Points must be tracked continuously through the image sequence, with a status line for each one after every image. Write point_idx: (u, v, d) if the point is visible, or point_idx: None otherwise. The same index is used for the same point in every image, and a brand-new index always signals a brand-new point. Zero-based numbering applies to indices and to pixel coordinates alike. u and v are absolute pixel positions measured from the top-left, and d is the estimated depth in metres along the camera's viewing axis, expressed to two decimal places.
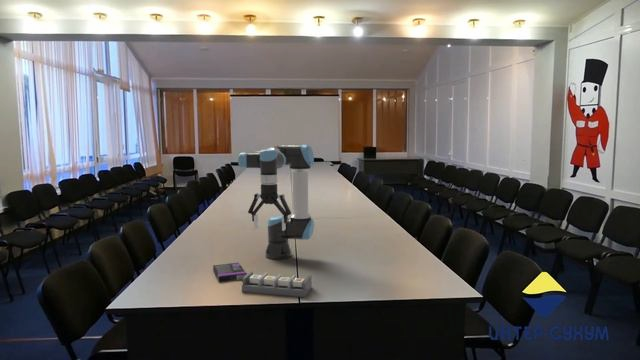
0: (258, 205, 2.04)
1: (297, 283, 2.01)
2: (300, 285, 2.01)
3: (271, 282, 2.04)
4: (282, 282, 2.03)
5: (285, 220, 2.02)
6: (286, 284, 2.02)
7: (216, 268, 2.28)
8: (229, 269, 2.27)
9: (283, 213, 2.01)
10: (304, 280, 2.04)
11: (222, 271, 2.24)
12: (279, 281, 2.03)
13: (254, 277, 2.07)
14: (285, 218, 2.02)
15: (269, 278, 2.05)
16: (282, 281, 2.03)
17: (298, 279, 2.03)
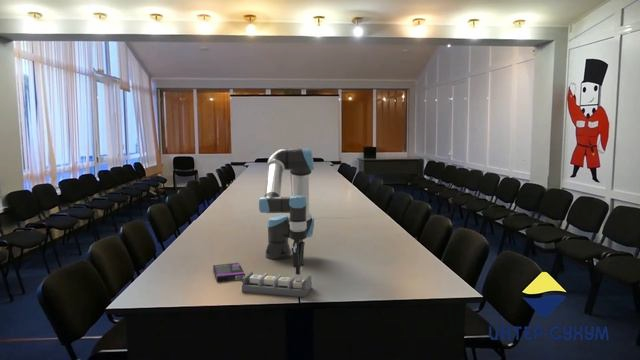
0: None
1: (297, 284, 2.01)
2: (300, 286, 2.01)
3: (271, 282, 2.04)
4: (282, 282, 2.03)
5: None
6: (286, 284, 2.02)
7: (215, 268, 2.29)
8: (229, 269, 2.27)
9: None
10: None
11: (221, 271, 2.24)
12: (279, 281, 2.03)
13: (254, 277, 2.07)
14: (296, 269, 2.01)
15: (269, 278, 2.05)
16: (282, 281, 2.03)
17: None
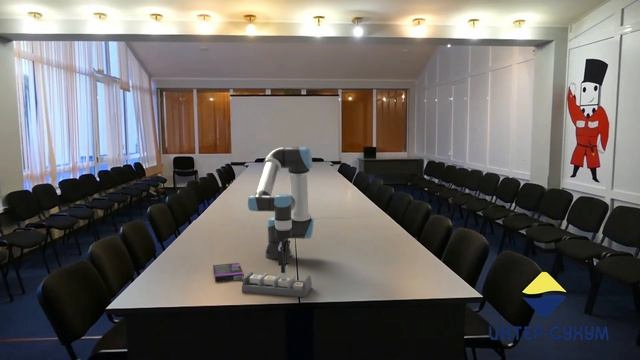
0: None
1: (297, 287, 2.01)
2: None
3: (271, 282, 2.04)
4: (282, 283, 2.03)
5: None
6: (286, 285, 2.03)
7: (215, 268, 2.29)
8: (228, 269, 2.27)
9: None
10: None
11: (220, 271, 2.24)
12: (279, 282, 2.03)
13: (254, 277, 2.07)
14: None
15: (269, 278, 2.05)
16: (282, 282, 2.03)
17: (298, 283, 2.03)
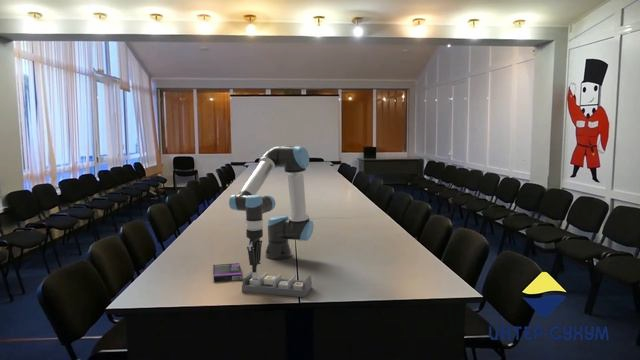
0: None
1: (297, 287, 2.01)
2: None
3: (271, 282, 2.04)
4: (283, 286, 2.03)
5: None
6: None
7: (215, 268, 2.29)
8: (227, 269, 2.27)
9: None
10: None
11: (219, 271, 2.24)
12: (279, 285, 2.03)
13: (254, 280, 2.07)
14: None
15: (269, 278, 2.05)
16: (282, 285, 2.03)
17: (298, 283, 2.03)
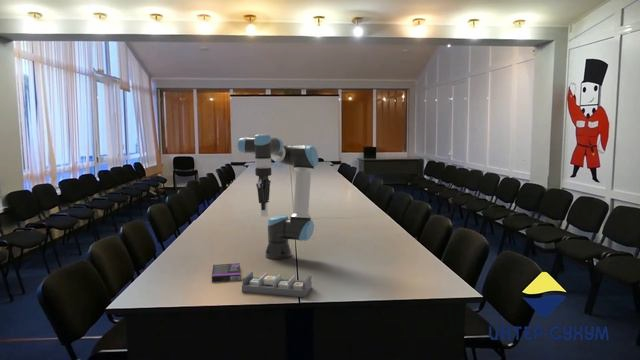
0: None
1: (297, 287, 2.01)
2: None
3: (271, 282, 2.04)
4: (283, 286, 2.03)
5: None
6: None
7: (214, 268, 2.29)
8: (226, 269, 2.26)
9: None
10: None
11: (218, 271, 2.24)
12: (279, 285, 2.03)
13: (254, 281, 2.07)
14: None
15: (269, 278, 2.05)
16: (282, 285, 2.03)
17: (298, 283, 2.03)
